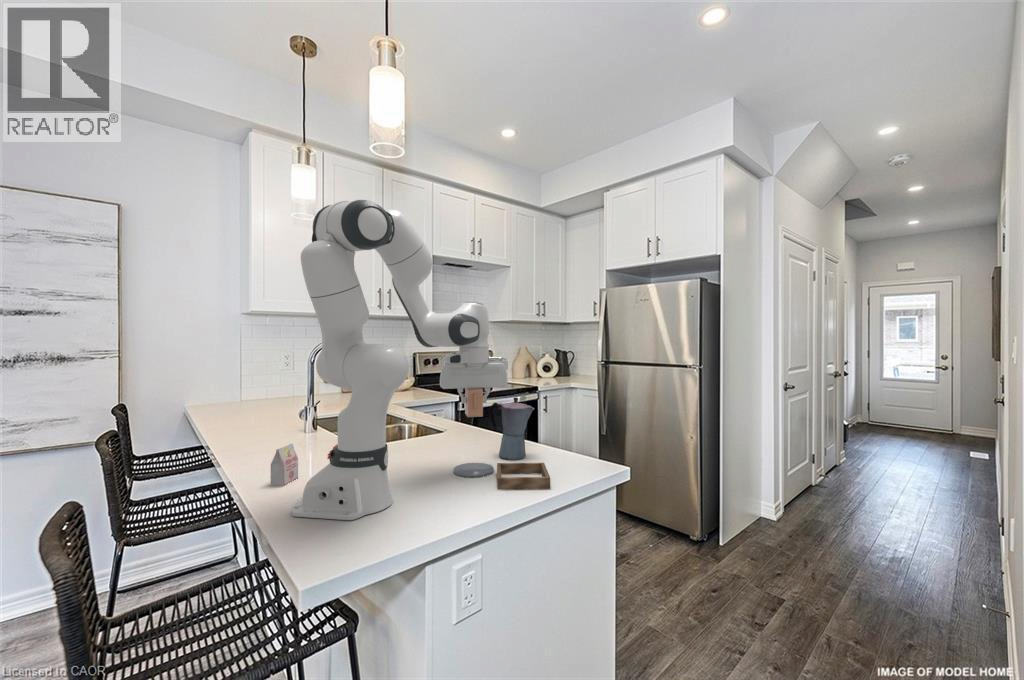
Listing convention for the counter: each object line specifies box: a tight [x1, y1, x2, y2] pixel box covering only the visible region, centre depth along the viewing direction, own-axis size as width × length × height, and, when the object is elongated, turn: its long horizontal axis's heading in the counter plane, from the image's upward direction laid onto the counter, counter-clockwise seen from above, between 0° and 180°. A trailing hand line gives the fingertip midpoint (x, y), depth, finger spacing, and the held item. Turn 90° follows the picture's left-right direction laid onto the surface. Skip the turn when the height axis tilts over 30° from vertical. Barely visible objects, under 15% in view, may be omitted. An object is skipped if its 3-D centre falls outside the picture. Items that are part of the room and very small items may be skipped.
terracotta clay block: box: [464, 388, 484, 418], centre depth 133 cm, size 8×4×8 cm, turn 13°
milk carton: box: [270, 443, 299, 487], centre depth 124 cm, size 4×7×10 cm, turn 173°
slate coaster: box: [453, 462, 495, 479], centre depth 134 cm, size 12×12×1 cm
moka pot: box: [488, 397, 535, 461], centre depth 150 cm, size 10×15×20 cm, turn 89°
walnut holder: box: [496, 462, 551, 490], centre depth 126 cm, size 14×14×3 cm
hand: (473, 402), depth 134 cm, fingers closed on terracotta clay block, 4 cm apart
